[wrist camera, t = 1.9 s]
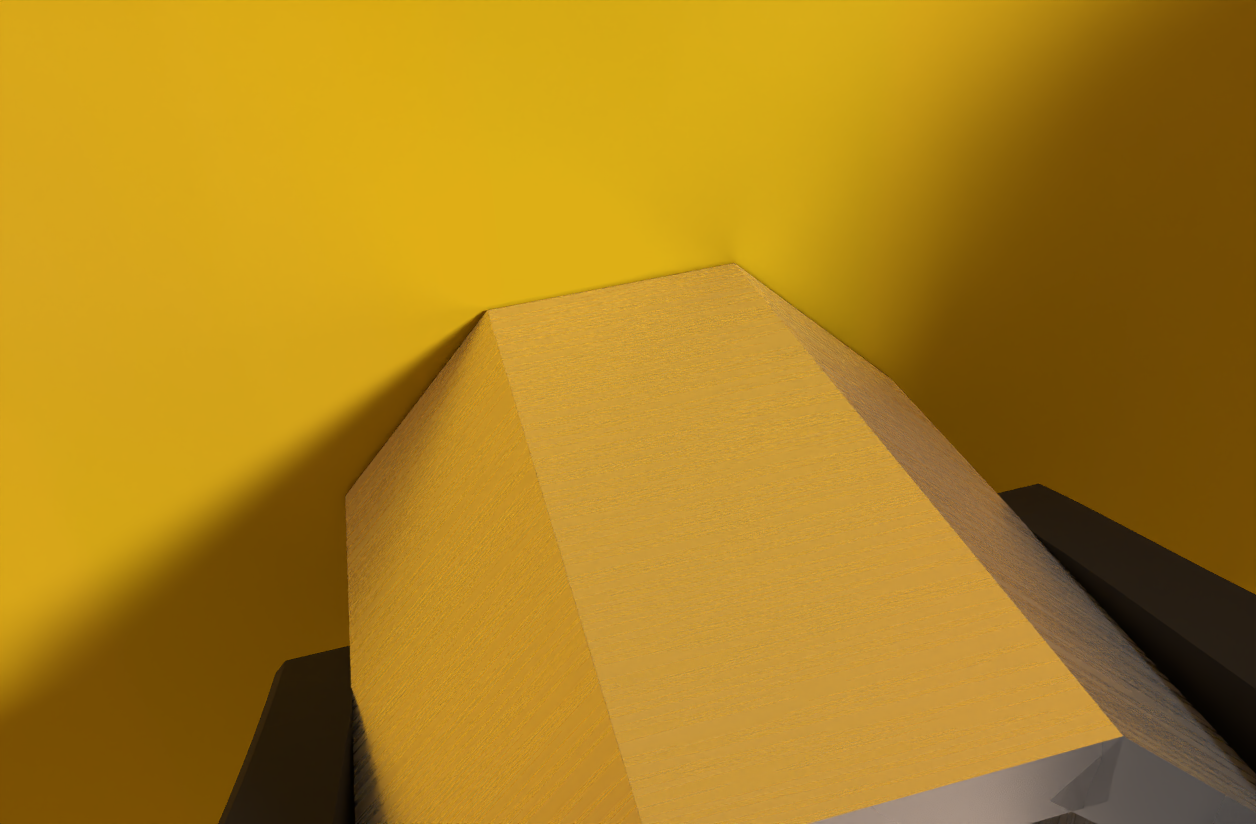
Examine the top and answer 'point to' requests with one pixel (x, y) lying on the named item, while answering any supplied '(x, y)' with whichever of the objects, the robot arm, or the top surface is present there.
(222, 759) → the top surface
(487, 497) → the collar
